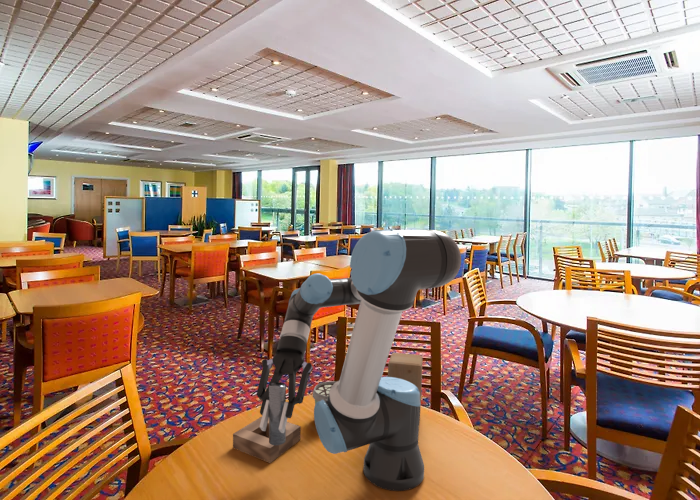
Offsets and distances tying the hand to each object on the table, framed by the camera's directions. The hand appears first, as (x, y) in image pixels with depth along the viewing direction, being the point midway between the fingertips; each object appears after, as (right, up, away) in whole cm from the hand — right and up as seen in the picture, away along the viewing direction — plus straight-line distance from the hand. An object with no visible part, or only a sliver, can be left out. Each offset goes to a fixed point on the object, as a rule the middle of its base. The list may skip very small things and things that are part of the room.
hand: (271, 430), depth 99 cm
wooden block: (+35, -11, +33) cm, 50 cm away
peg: (+1, -4, +4) cm, 6 cm away
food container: (+10, -11, +33) cm, 36 cm away
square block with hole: (-5, -11, +18) cm, 22 cm away
